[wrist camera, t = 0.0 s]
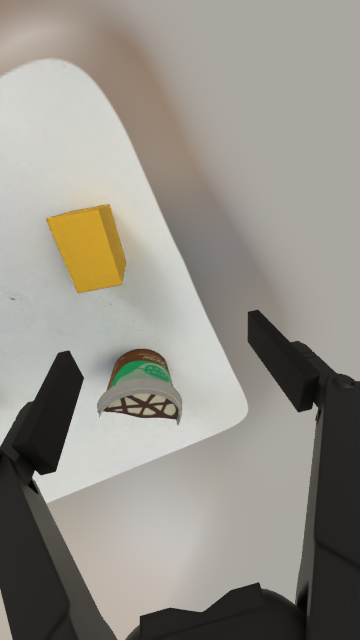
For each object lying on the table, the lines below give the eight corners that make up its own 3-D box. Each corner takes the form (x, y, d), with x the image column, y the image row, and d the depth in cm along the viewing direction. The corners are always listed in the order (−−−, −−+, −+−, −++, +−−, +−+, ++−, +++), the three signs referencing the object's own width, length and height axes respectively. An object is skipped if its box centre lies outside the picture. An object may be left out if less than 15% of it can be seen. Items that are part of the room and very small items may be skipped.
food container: (185, 351, 38) (198, 397, 30) (172, 377, 41) (181, 426, 32) (113, 335, 35) (105, 383, 26) (105, 365, 37) (94, 416, 29)
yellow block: (70, 211, 25) (45, 218, 19) (109, 204, 26) (98, 209, 19) (92, 269, 29) (77, 293, 22) (126, 262, 29) (122, 284, 22)
